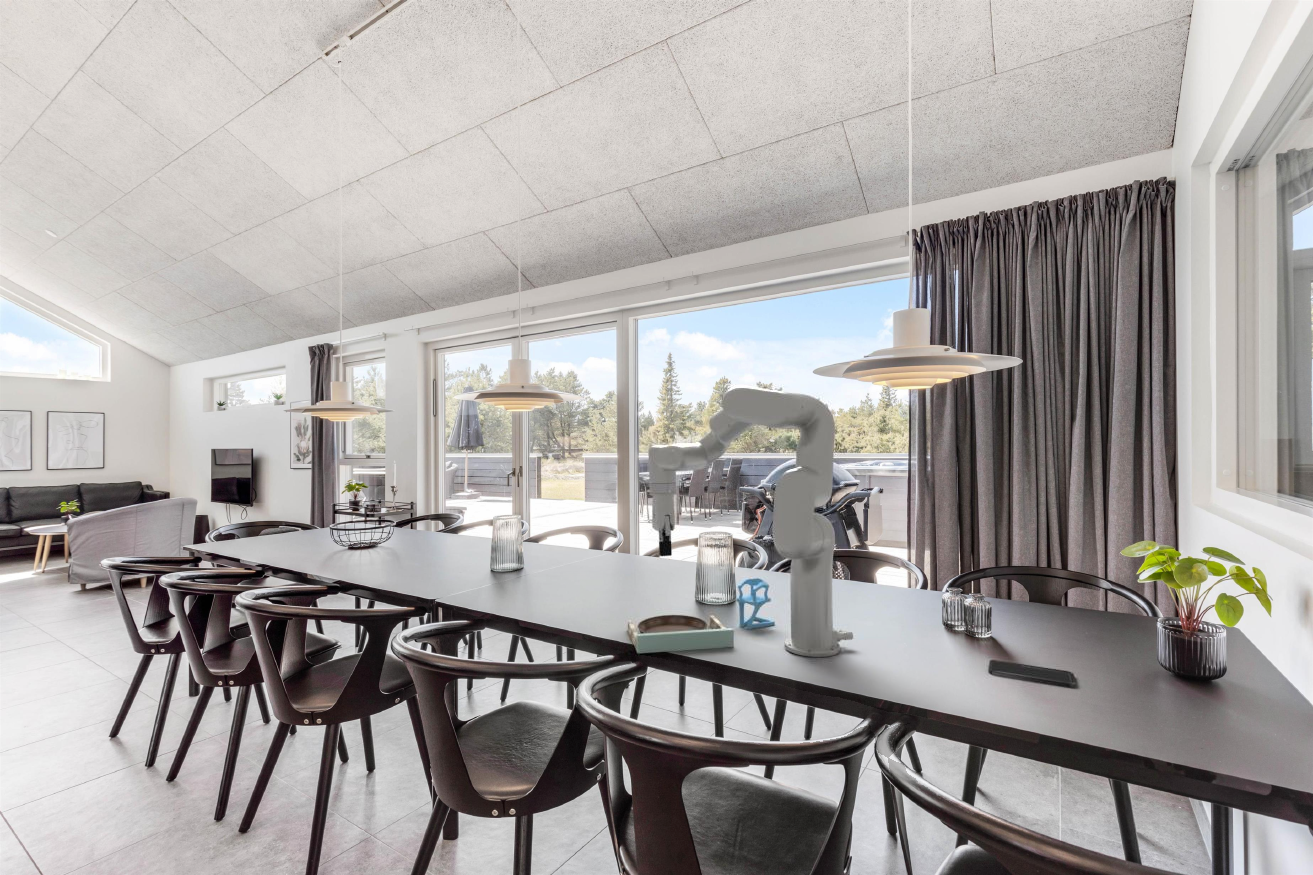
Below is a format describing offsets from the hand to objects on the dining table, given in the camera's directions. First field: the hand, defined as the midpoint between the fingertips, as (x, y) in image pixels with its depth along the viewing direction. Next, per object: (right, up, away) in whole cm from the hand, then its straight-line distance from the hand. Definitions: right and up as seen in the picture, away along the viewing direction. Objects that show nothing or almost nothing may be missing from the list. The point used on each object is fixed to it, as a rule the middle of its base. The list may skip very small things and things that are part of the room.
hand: (665, 555), depth 171 cm
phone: (+74, -17, -45) cm, 88 cm away
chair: (+23, -17, -8) cm, 30 cm away
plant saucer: (+2, -18, -16) cm, 24 cm away
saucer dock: (+3, -17, -19) cm, 25 cm away
